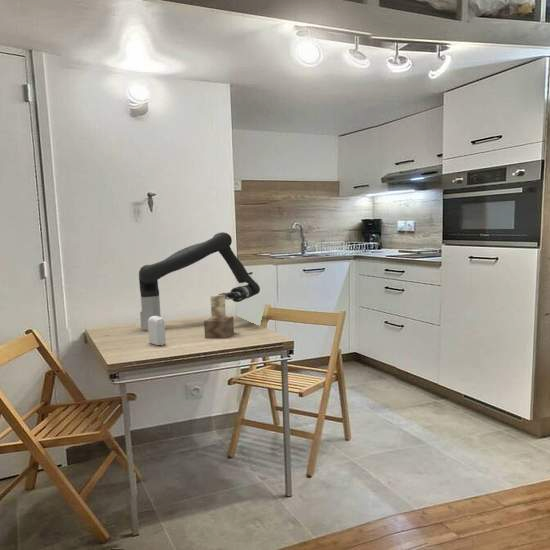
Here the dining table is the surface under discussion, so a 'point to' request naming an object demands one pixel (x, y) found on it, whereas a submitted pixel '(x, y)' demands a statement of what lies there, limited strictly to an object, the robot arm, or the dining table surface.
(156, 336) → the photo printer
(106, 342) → the dining table surface
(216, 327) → the walnut block
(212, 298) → the maple block
